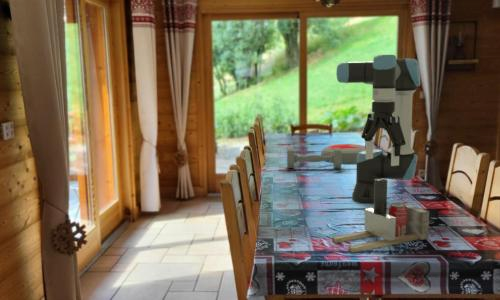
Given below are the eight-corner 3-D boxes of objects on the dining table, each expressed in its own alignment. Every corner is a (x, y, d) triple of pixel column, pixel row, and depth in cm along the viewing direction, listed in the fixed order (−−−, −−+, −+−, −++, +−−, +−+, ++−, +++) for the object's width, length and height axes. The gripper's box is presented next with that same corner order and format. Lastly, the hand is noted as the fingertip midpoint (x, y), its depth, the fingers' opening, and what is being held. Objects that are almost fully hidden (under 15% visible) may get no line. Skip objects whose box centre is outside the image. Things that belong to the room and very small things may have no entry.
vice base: (330, 240, 165) (330, 213, 164) (400, 227, 178) (401, 202, 176) (353, 253, 153) (354, 224, 151) (428, 238, 165) (429, 211, 163)
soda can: (396, 240, 164) (397, 207, 162) (384, 234, 170) (385, 203, 168) (409, 237, 167) (411, 205, 165) (397, 232, 172) (398, 201, 170)
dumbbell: (287, 168, 298) (287, 148, 298) (339, 168, 294) (339, 148, 295) (287, 168, 285) (287, 147, 285) (341, 168, 281) (341, 147, 282)
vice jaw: (362, 230, 170) (364, 177, 167) (372, 228, 172) (374, 175, 168) (386, 241, 158) (388, 184, 155) (396, 239, 160) (398, 183, 156)
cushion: (371, 165, 298) (372, 149, 296) (315, 162, 311) (315, 147, 310) (377, 155, 332) (377, 141, 330) (326, 153, 345) (326, 139, 344)
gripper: (352, 99, 167) (351, 157, 170) (400, 103, 144) (397, 169, 148) (369, 98, 170) (367, 155, 173) (418, 102, 147) (415, 167, 151)
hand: (381, 162), depth 161 cm, fingers open, 13 cm apart
